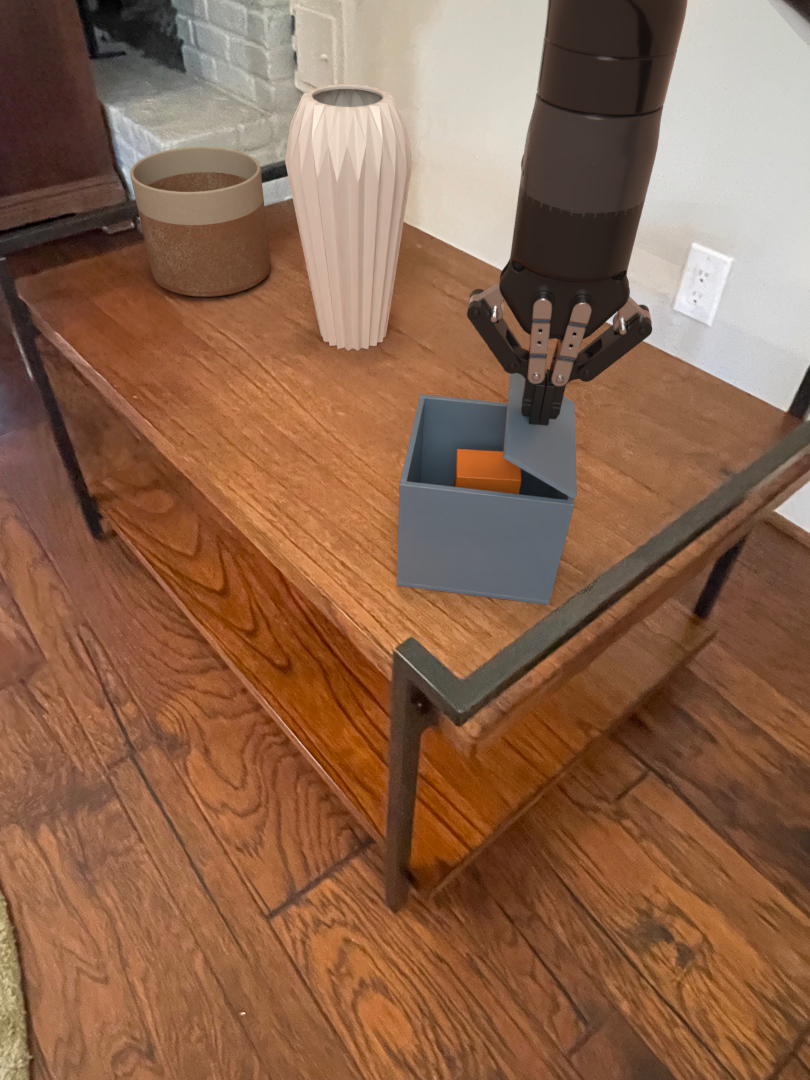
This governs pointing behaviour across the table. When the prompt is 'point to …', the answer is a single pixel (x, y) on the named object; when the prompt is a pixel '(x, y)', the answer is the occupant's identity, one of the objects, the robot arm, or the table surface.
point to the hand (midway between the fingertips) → (538, 418)
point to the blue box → (474, 512)
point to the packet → (486, 471)
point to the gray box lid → (541, 441)
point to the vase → (350, 205)
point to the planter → (203, 219)
